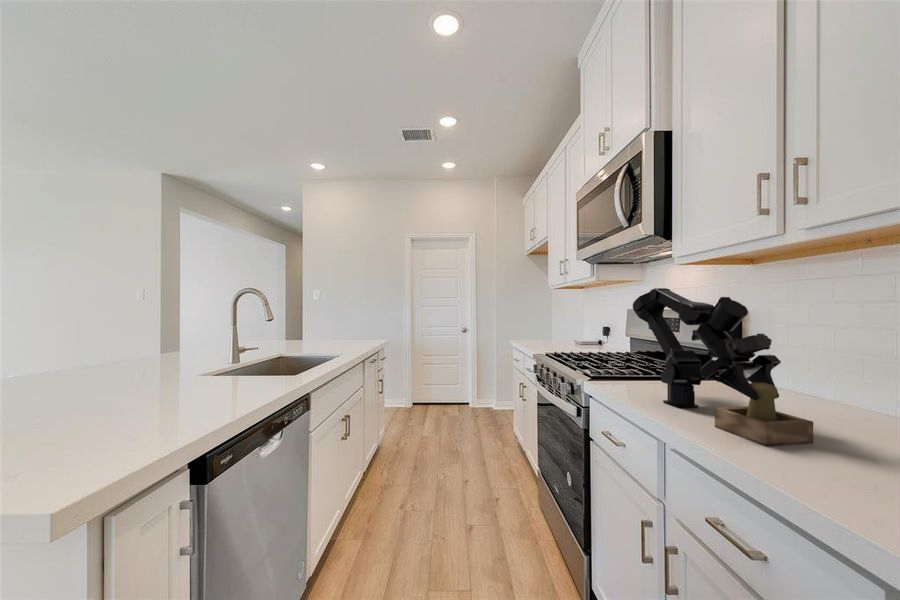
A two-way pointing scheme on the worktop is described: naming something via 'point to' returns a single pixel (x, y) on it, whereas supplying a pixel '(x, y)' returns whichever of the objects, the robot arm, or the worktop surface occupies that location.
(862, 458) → the worktop surface
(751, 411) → the cork
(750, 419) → the socket block
